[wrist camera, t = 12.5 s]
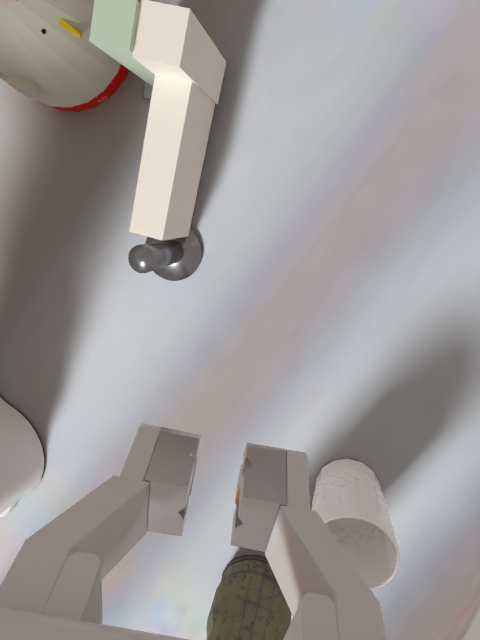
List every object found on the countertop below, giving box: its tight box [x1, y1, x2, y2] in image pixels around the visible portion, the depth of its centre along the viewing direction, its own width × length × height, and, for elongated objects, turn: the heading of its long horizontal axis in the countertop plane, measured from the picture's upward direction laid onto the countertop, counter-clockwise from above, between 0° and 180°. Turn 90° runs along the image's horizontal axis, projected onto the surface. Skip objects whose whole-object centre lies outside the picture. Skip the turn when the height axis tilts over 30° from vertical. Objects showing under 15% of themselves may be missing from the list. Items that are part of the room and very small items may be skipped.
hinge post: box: [129, 228, 202, 281], centre depth 40 cm, size 6×6×8 cm
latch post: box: [89, 0, 155, 100], centre depth 34 cm, size 5×5×12 cm
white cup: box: [311, 459, 400, 591], centre depth 42 cm, size 8×8×10 cm
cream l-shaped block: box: [129, 0, 226, 241], centre depth 36 cm, size 16×4×10 cm, turn 166°
